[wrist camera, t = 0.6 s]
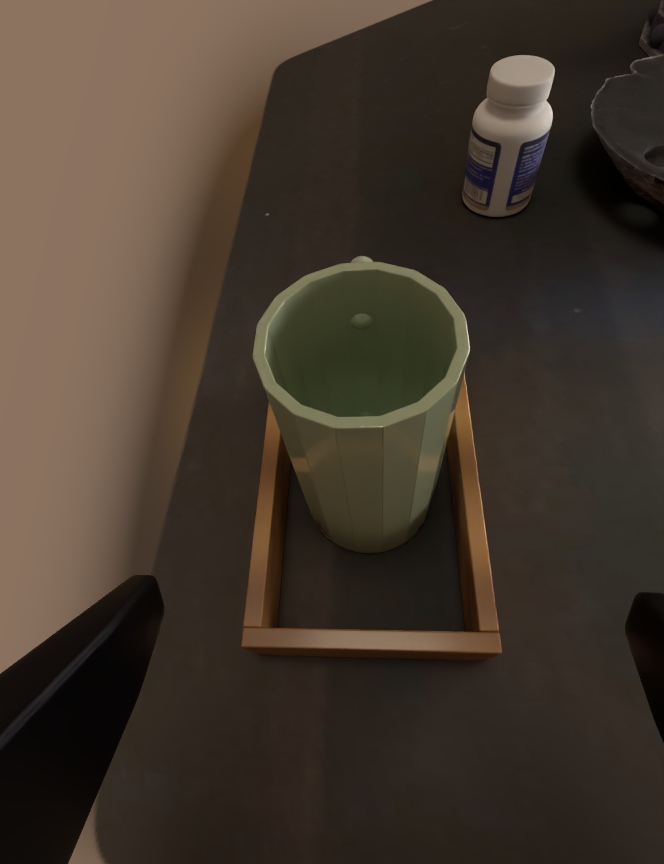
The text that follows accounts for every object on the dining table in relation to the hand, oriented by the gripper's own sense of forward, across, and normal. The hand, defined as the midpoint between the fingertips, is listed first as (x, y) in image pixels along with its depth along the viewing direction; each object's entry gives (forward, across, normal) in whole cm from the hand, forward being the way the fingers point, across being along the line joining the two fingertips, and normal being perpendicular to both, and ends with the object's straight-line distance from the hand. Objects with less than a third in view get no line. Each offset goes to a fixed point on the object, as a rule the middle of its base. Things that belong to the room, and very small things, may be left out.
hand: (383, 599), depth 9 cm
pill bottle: (+37, -9, -5) cm, 38 cm away
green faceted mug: (+17, +1, +7) cm, 18 cm away
